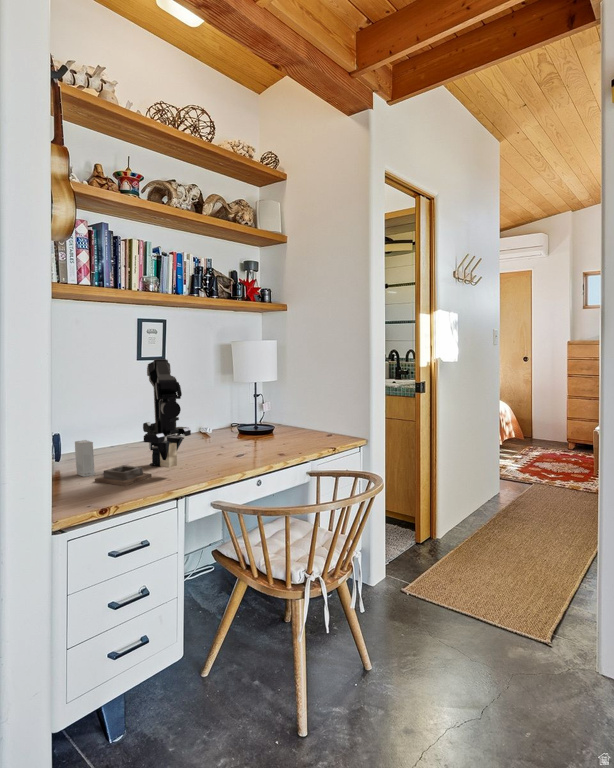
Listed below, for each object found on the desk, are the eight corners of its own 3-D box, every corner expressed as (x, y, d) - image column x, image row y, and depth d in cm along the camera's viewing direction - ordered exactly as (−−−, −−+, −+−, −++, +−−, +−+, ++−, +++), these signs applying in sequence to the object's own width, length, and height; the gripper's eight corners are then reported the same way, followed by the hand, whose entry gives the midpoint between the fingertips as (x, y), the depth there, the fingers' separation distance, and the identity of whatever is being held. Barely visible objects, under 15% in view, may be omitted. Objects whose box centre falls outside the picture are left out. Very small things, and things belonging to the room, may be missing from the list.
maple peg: (167, 464, 176) (167, 442, 176) (176, 465, 175) (176, 443, 174) (160, 466, 173) (159, 444, 172) (169, 467, 171) (169, 445, 171)
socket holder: (123, 473, 179) (122, 463, 179) (151, 476, 174) (151, 466, 174) (94, 481, 167) (94, 471, 167) (124, 485, 162) (124, 475, 162)
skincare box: (95, 475, 176) (94, 441, 175) (82, 477, 173) (81, 443, 172) (87, 472, 180) (86, 439, 180) (75, 474, 177) (74, 441, 176)
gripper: (166, 410, 184) (167, 452, 185) (130, 416, 167) (131, 462, 168) (191, 412, 180) (191, 454, 181) (156, 418, 163) (157, 465, 164)
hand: (168, 458), depth 174 cm, fingers closed on maple peg, 4 cm apart
